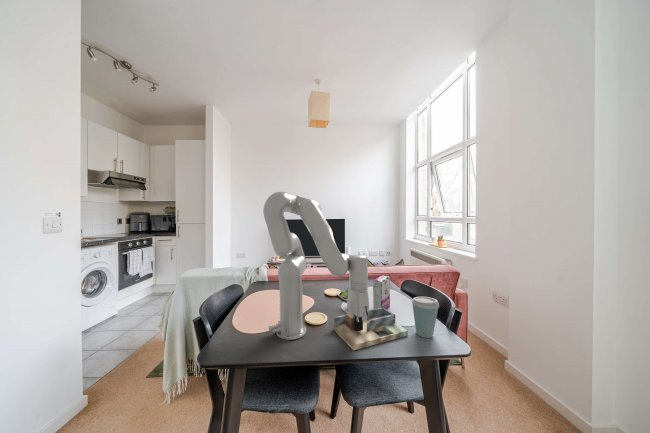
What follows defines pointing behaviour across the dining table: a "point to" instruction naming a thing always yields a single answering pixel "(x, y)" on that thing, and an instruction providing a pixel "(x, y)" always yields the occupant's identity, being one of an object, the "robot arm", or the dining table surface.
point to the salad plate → (344, 294)
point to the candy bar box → (381, 292)
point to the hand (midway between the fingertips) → (358, 329)
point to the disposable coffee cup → (425, 315)
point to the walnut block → (350, 321)
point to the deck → (370, 329)
